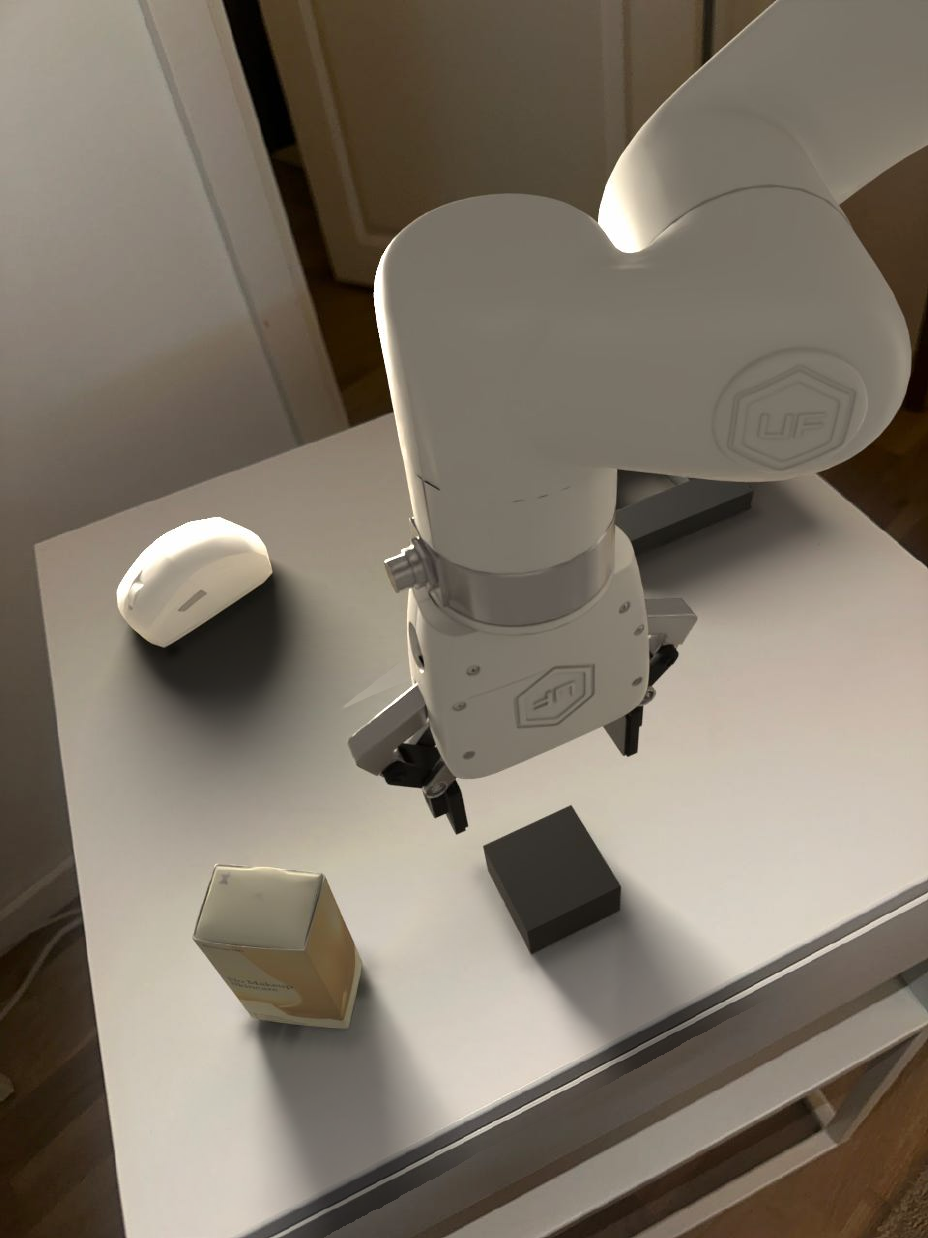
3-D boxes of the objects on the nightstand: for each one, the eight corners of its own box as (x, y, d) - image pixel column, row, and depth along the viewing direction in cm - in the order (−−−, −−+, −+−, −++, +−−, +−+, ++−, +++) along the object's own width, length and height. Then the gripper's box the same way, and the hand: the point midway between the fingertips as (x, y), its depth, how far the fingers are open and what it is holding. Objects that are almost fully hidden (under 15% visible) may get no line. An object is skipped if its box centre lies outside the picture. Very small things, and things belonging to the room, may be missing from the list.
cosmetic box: (250, 1020, 57) (182, 940, 48) (269, 949, 60) (209, 860, 51) (354, 1032, 56) (305, 952, 47) (368, 959, 59) (325, 870, 50)
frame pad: (656, 413, 90) (657, 396, 88) (751, 508, 81) (754, 490, 79) (512, 469, 87) (511, 452, 86) (594, 574, 78) (593, 556, 76)
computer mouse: (117, 617, 81) (87, 565, 76) (244, 534, 85) (223, 481, 81) (155, 658, 77) (126, 607, 72) (286, 570, 82) (266, 516, 77)
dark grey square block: (572, 830, 63) (571, 804, 61) (620, 910, 59) (621, 886, 57) (487, 870, 62) (482, 845, 59) (530, 955, 58) (527, 932, 56)
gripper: (338, 693, 33) (408, 904, 46) (765, 518, 36) (718, 760, 49) (276, 556, 38) (355, 783, 51) (659, 412, 41) (642, 659, 54)
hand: (534, 771), depth 50 cm, fingers open, 9 cm apart
